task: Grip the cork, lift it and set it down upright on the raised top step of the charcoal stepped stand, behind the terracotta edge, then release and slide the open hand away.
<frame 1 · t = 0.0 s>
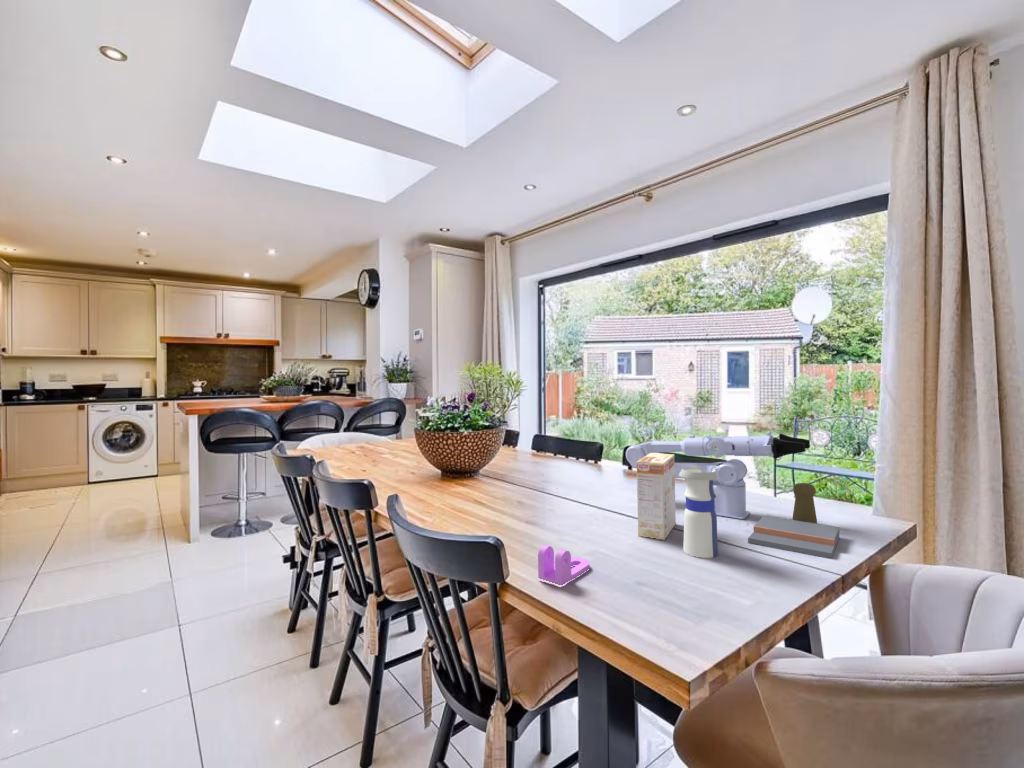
hand: (807, 445, 128), 22 cm above the table, tool horizontal, fingers open, 7 cm apart
stepped stand: (794, 540, 118), on the table
white spray bottle: (699, 552, 112), on the table
coffeecake box: (657, 530, 128), on the table
bracket: (567, 575, 101), on the table
cork: (804, 524, 130), on the table
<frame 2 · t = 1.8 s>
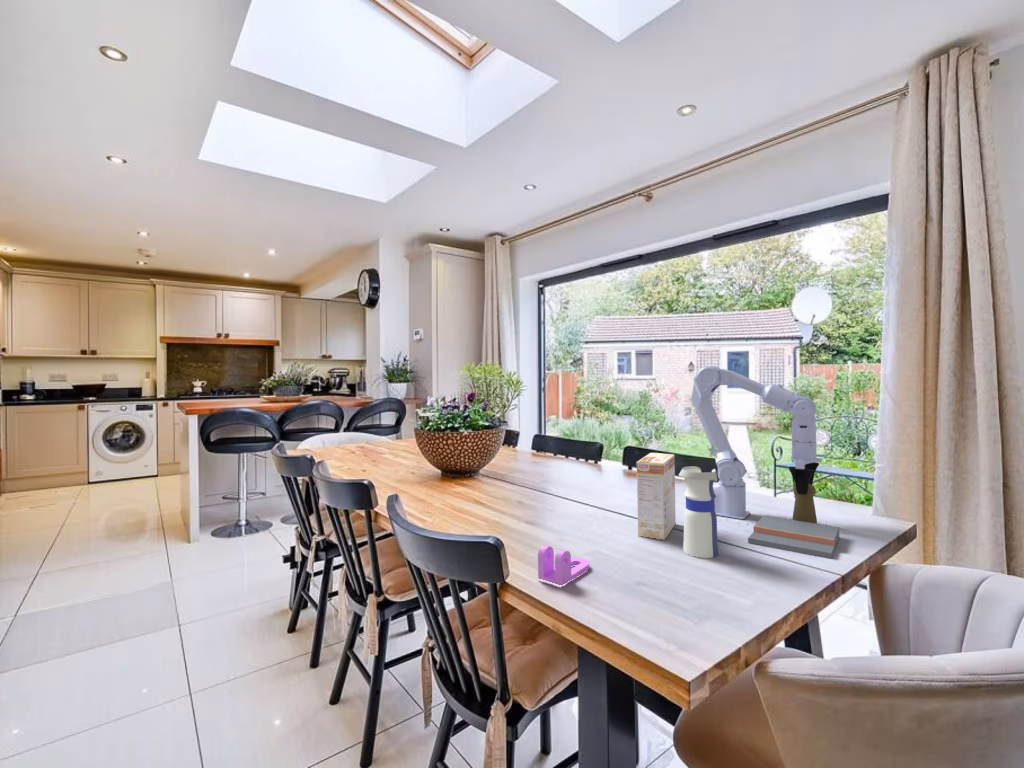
hand: (804, 491, 130), 9 cm above the table, tool pointing down, fingers open, 7 cm apart
nothing on the table moved.
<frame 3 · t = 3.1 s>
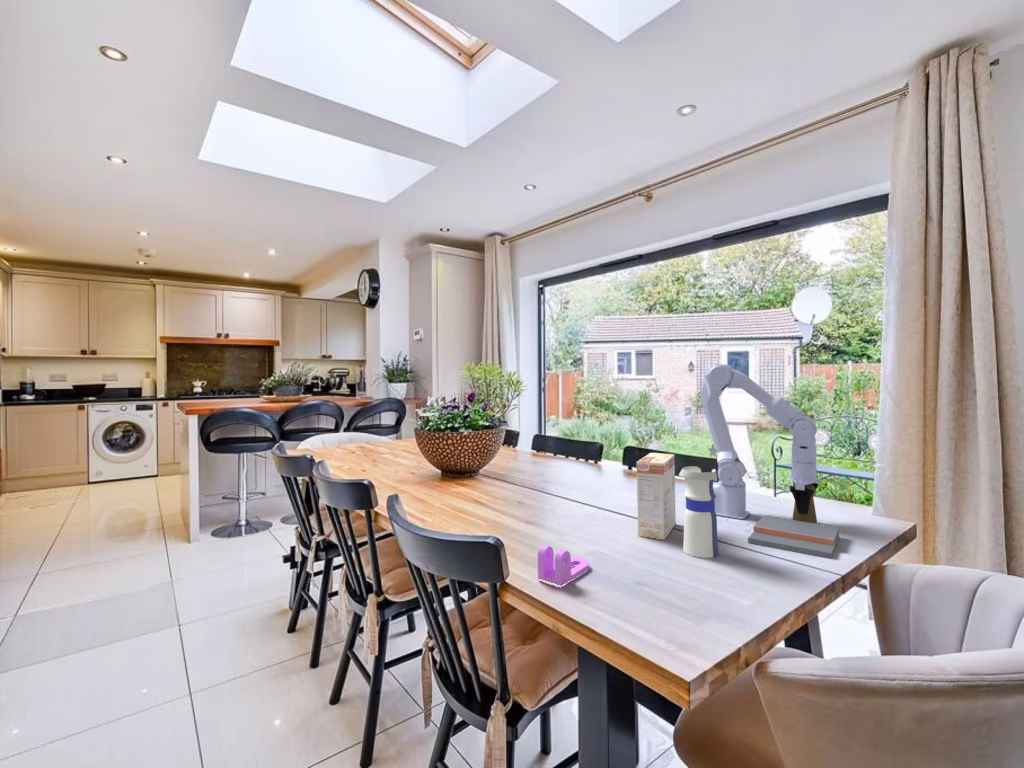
hand: (804, 511, 130), 3 cm above the table, tool pointing down, fingers closed on cork, 5 cm apart
cork: (804, 524, 130), on the table, touching gripper
everything else where it was.
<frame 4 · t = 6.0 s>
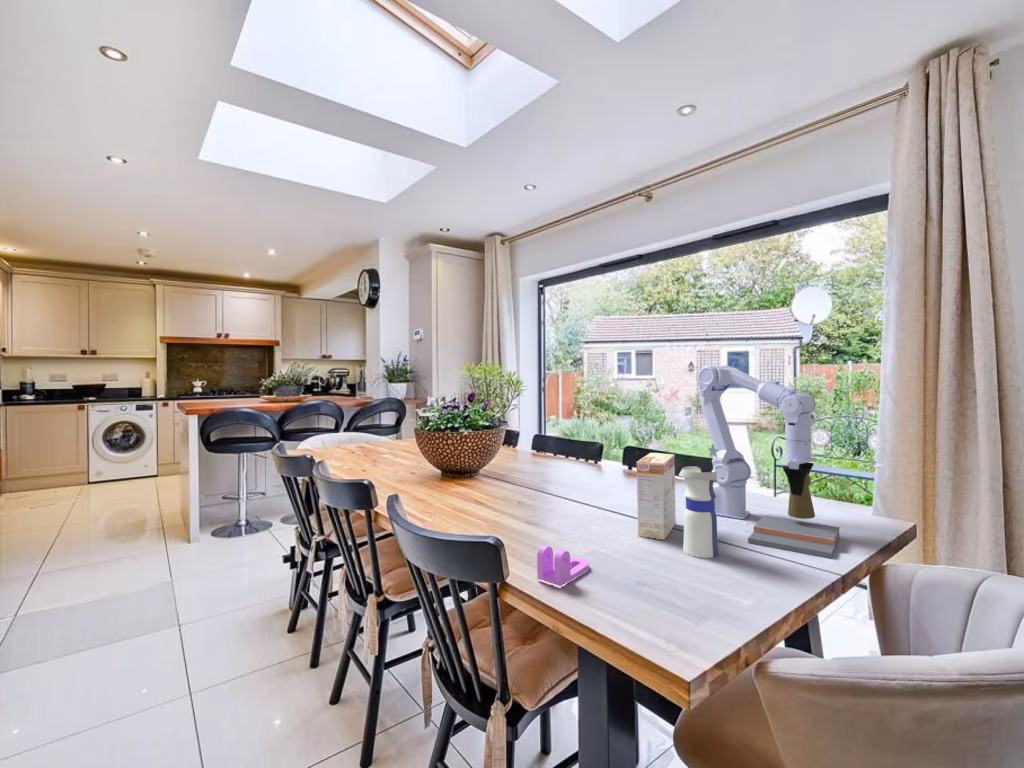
hand: (798, 492, 123), 10 cm above the table, tool pointing down, fingers closed on cork, 5 cm apart
cork: (801, 515, 123), point 4 cm above the table, touching gripper
everything else where it was.
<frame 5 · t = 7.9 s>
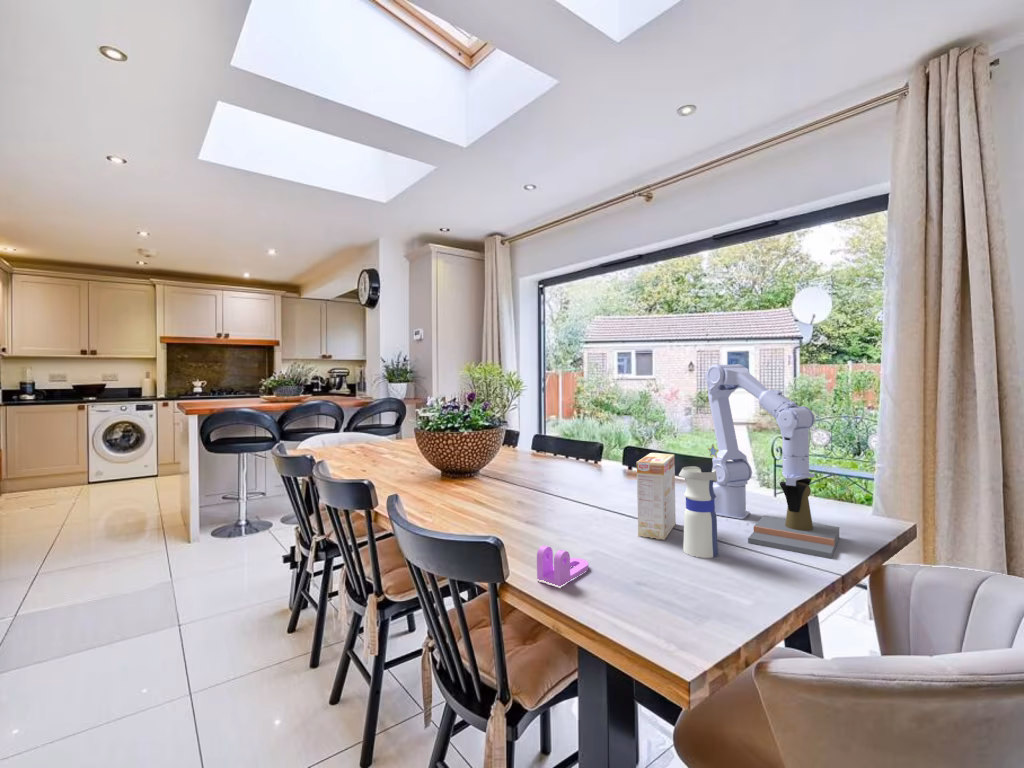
hand: (796, 509, 120), 7 cm above the table, tool pointing down, fingers closed on cork, 5 cm apart
cork: (798, 527, 120), point 2 cm above the table, touching gripper, stepped stand
everything else where it was.
when the fingers open (7 cm above the table, at t = 8.8 s): cork stays where it is, resting on stepped stand.
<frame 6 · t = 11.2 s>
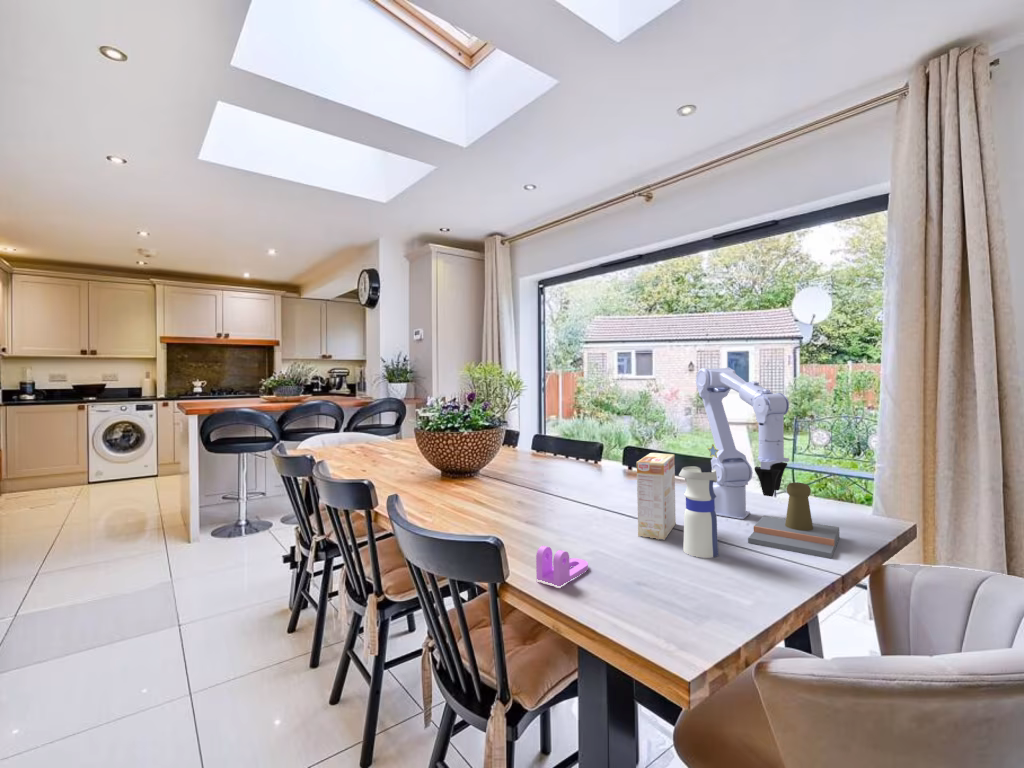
hand: (771, 492, 124), 10 cm above the table, tool pointing down, fingers open, 7 cm apart
cork: (798, 527, 120), point 2 cm above the table, touching stepped stand
everything else where it was.
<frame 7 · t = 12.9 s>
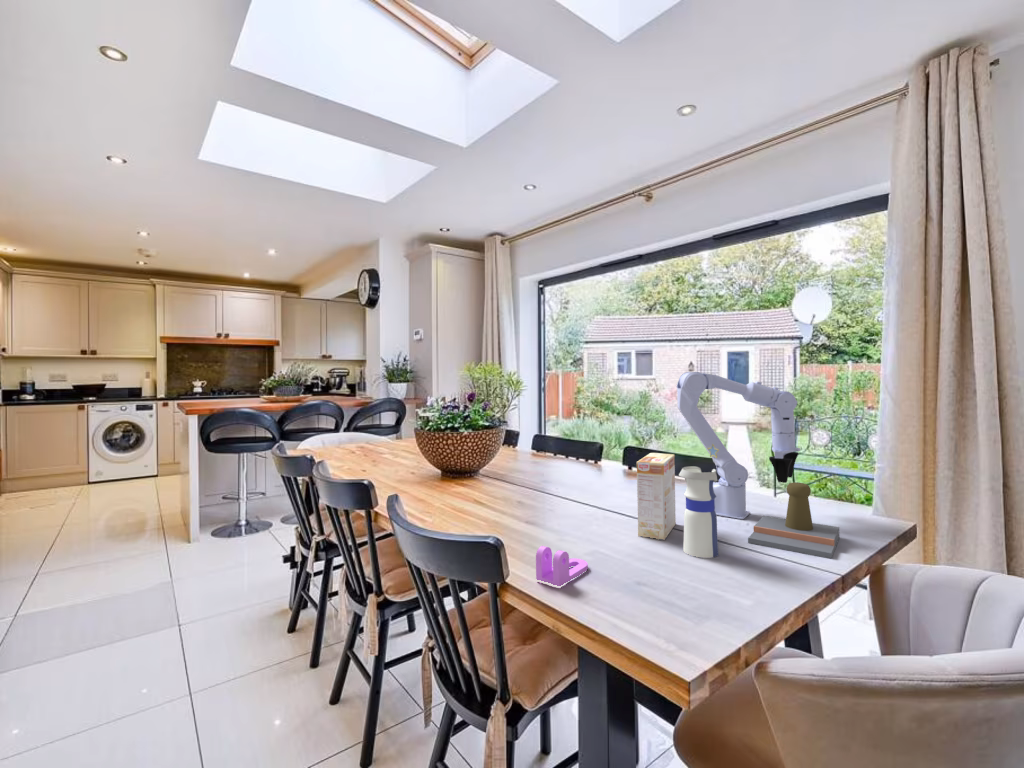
hand: (785, 479, 138), 10 cm above the table, tool pointing down, fingers open, 7 cm apart
nothing on the table moved.
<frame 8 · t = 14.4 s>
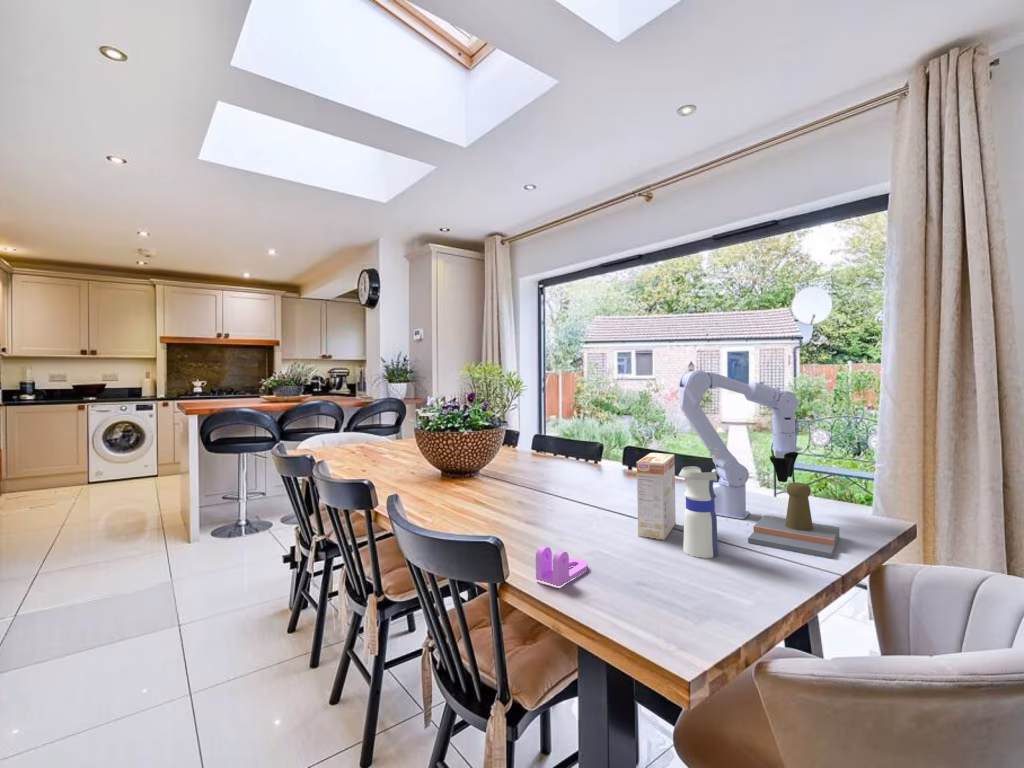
hand: (785, 479, 138), 10 cm above the table, tool pointing down, fingers open, 7 cm apart
nothing on the table moved.
at the end: cork inside the target area on the stepped stand (0.6 cm from its centre), point 2.4 cm above the stepped stand's base; cork tilted 0°; the gripper is holding nothing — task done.
